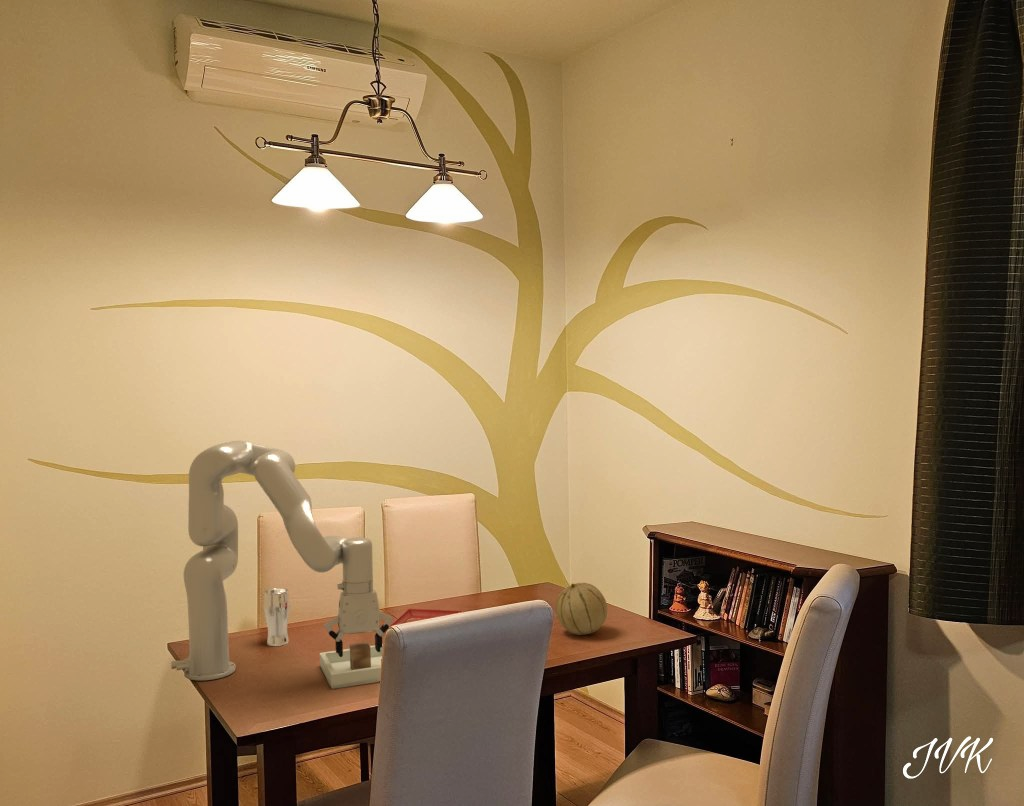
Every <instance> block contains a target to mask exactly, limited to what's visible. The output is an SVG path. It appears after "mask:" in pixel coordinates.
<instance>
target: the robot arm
mask: <svg viewBox="0 0 1024 806" xmlns="http://www.w3.org/2000/svg"><path fill="white" fill-rule="evenodd" d="M295 470H296V462H295V459H294V457H293V456H292V455H291V454H290V453H289V452H287V451H285V450H282V449H279V448H274V447H270V446H266V445H261V444H258V443H255V442H249V441H244V440H231V441H228V442H224V443H219V444H216V445H213V446H210V447H208V448H207V449H204V450H203V451H201V452H200V453H198V455H196V456H195V458H194V459H193V460H192V462H191V464H190V467H189V471H188V530H187V531H188V535H189V539H190V540H191V541H192V543H193V544H194V545H196V546H199V547H202V550H200V551H199V552H197V553H195V554H194V555H192V556H190V558H189V559H188V561H187V562H186V564H185V565H184V569H183V583H184V587H185V592H186V599H187V617H188V639H189V641H188V642H189V654H188V657H186V658H185V657H184V659H183V660H173V661H171V670H176V671H182V670H184V671H183V674H184V678H185V679H188V680H191V681H197V682H198V681H212V680H217V679H221V678H224V677H227V676H229V675H232V674H234V672H235V671H236V667H237V665H236V663H234V661H232V660H231V661H230V650H229V649H230V648H229V647H230V646H229V622H228V621H229V620H228V619H229V616H228V602H227V595H226V591H225V590H226V589H225V587H224V581H225V580H227V579H228V578H229V577H231V576H232V575H233V574H234V572H235V571H236V569H237V567H238V561H239V521H238V516H237V515H236V513H235V511H234V510H233V509H232V508H231V507H229V506H228V505H226V504H224V502H225V501H224V500H225V493H224V492H225V491H224V487H223V479H225V478H226V477H229V476H230V477H231V476H234V475H237V474H243V475H244V474H245V475H250V476H253V477H254V478H255V481H256V482H257V483H258V484H259V486H260V488H261V489H262V491H264V493H265V494H266V496H267V497H268V499H269V500H270V501H271V503H272V504H273V506H274V508H275V509H276V510H277V512H278V514H279V515H280V517H281V518H282V521H283V525H284V528H285V530H286V533H287V534H288V537H289V540H290V541H291V544H292V546H293V548H294V549H295V551H296V552H297V554H298V555H299V556H300V557H301V559H302V560H303V561H304V563H305V564H306V565H307V566H308V567H309V568H310V570H312V571H315V572H316V573H326V572H328V571H329V572H330V570H332V569H333V568H334V567H335V566H338V565H341V564H342V581H341V582H340V583H339V584H336V586H337V587H336V588H337V590H341V592H340V595H339V599H338V600H339V602H338V610H337V611H338V612H337V616H334V618H331V619H330V620H329V621H327V622H325V623H324V624H323V627H324V628H325V630H326V631H327V633H328V635H329V636H330V637H331V638H332V639H333V640H334V642H335V651H336V653H338V655H339V656H340V657H342V656H343V650H344V648H343V647H344V646H343V640H342V639H343V638H344V636H345V635H355V634H362V633H364V634H365V633H372V632H375V634H374V645H375V649H376V651H377V652H380V648H381V647H382V644H383V636H384V635H385V633H386V632H387V630H389V628H390V627H389V625H391V624H392V620H393V617H392V615H388V614H387V613H383V612H381V611H380V607H379V598H378V593H377V591H376V590H375V589H374V580H373V579H374V577H373V576H374V574H373V573H374V571H373V570H374V569H373V563H374V562H373V542H372V540H371V539H370V538H367V537H362V536H361V537H359V536H358V537H343V536H338V535H337V536H336V535H327V536H323V535H322V533H321V532H320V530H319V528H318V527H317V524H316V523H315V520H314V517H313V511H312V510H313V509H312V506H313V505H312V499H311V496H310V495H309V493H308V492H307V490H306V489H305V488H304V487H303V485H302V484H301V482H300V480H298V478H297V477H296V475H295V474H294V473H295ZM381 619H382V620H384V623H383V624H382V625H381ZM335 625H337V626H338V627H337V628H338V630H337V631H336V632H335V631H334V630H333V629H332V627H333V626H335ZM380 625H381V626H380Z"/></svg>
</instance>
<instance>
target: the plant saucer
mask: <svg viewBox="0 0 1024 806" xmlns="http://www.w3.org/2000/svg"><path fill="white" fill-rule="evenodd" d="M458 612H463V613H465V612H464V610H450V609H449V610H448V609H431V608H430V609H428V608H427V609H426V608H408V609H406V610H405V611H404V612H403V613H402V614H401V615H400V616H398V618H396V619H395V620H394V621H393V622H391V623H390V625H389V628H390V627H391V626H392V625H395V624H398V623H403V622H407V620H408V619H410V618H416V619H414V620H420V619H425V618H431V617H436V616H442V615H447V614H453V613H458ZM417 618H420V619H417ZM414 620H409V621H414Z"/></svg>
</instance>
